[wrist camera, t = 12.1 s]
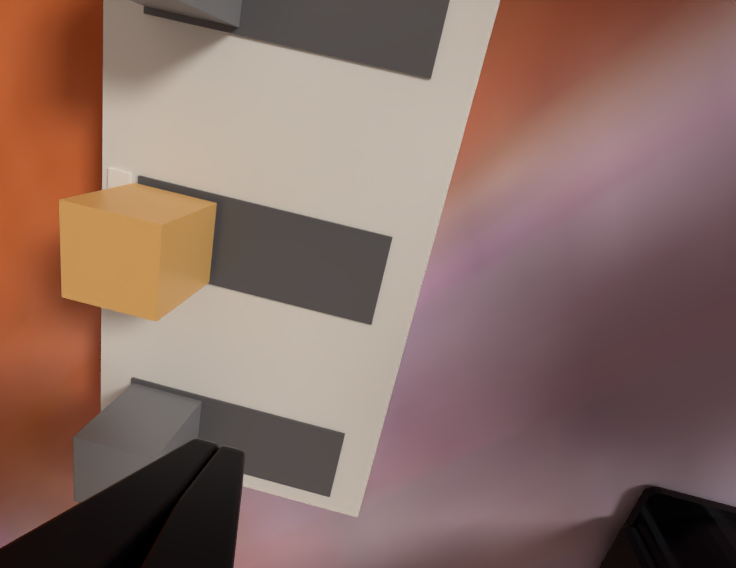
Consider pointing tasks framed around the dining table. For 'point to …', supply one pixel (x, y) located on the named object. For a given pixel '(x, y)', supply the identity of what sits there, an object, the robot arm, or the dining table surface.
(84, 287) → the handle
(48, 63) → the dining table surface
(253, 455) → the breaker panel
